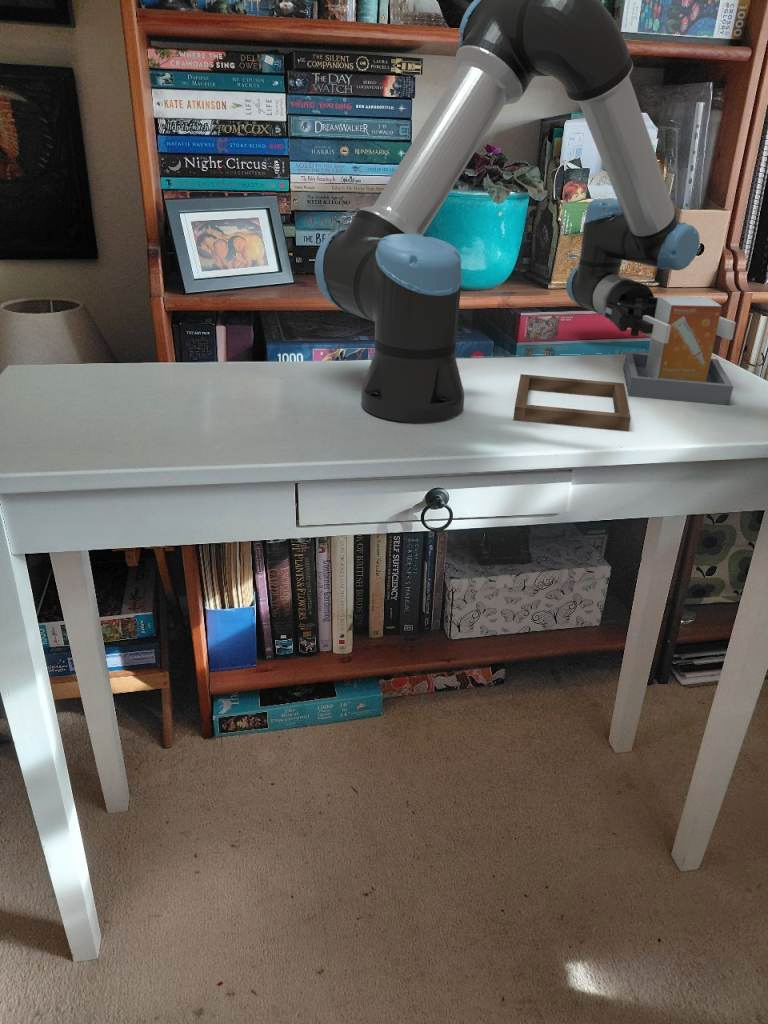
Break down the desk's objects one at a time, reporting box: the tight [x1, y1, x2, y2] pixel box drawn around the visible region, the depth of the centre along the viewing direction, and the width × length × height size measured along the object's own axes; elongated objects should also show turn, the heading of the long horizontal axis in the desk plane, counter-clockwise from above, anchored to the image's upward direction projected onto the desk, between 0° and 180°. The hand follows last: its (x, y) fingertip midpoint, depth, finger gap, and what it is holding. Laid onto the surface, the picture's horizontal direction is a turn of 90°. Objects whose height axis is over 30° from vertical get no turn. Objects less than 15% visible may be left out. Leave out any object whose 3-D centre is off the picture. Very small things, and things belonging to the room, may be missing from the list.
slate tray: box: [622, 351, 734, 406], centre depth 133 cm, size 15×15×3 cm
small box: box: [645, 296, 723, 382], centre depth 131 cm, size 8×6×13 cm
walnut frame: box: [512, 373, 631, 432], centre depth 123 cm, size 16×16×2 cm
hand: (700, 332), depth 126 cm, fingers open, 11 cm apart
